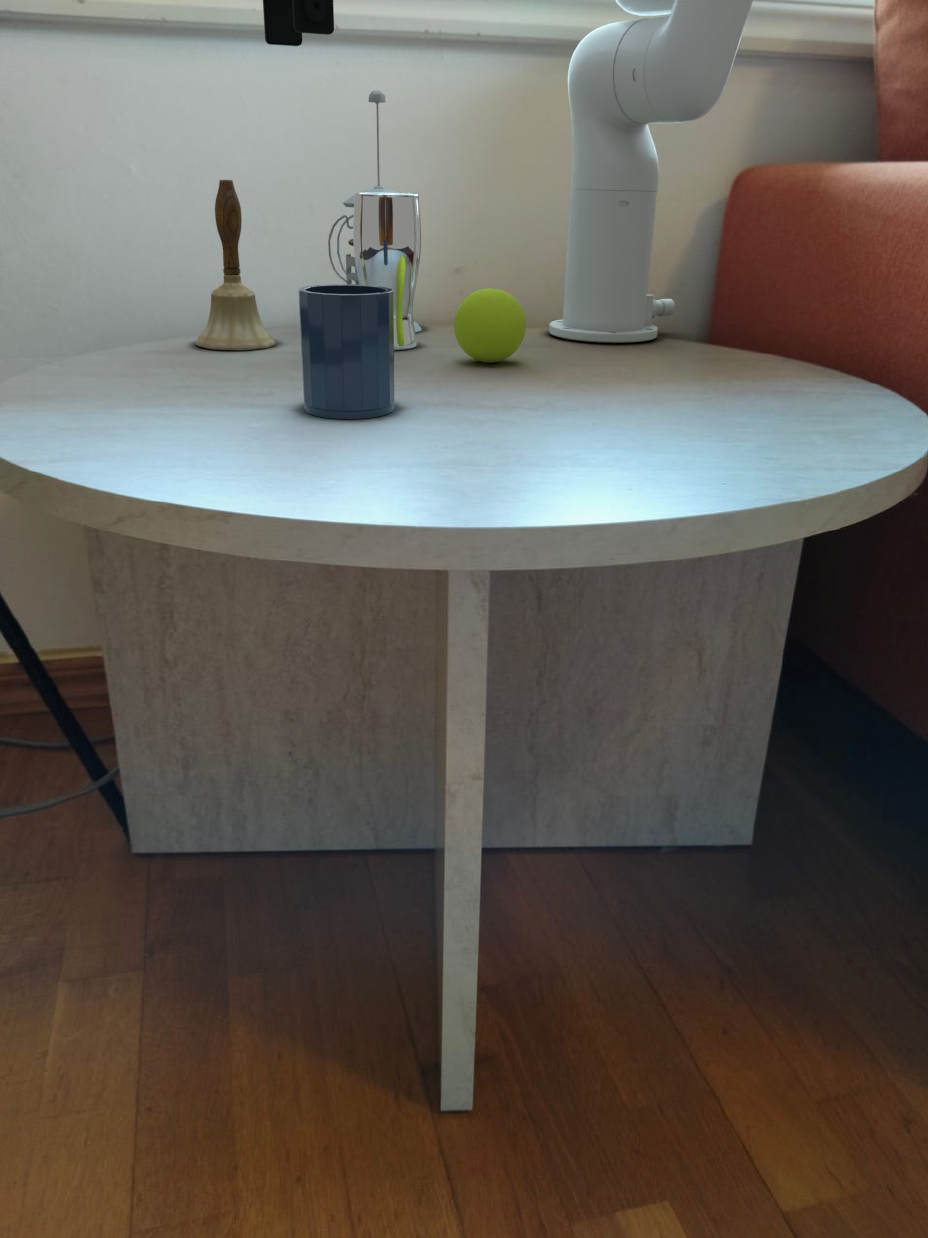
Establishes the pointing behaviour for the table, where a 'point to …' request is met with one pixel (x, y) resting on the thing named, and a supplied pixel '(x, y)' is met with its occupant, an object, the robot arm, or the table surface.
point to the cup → (347, 350)
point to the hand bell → (232, 287)
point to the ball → (490, 325)
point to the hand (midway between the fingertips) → (298, 39)
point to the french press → (350, 261)
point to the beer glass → (390, 252)
